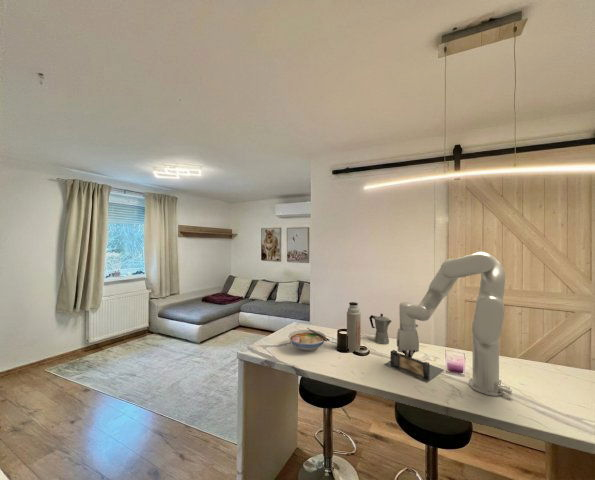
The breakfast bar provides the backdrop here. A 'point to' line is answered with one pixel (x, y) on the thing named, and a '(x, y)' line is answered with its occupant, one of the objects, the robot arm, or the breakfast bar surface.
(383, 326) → the coffeepot
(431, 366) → the gate frame
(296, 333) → the ramen bowl
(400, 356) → the gate
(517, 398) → the breakfast bar surface
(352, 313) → the thermos bottle
